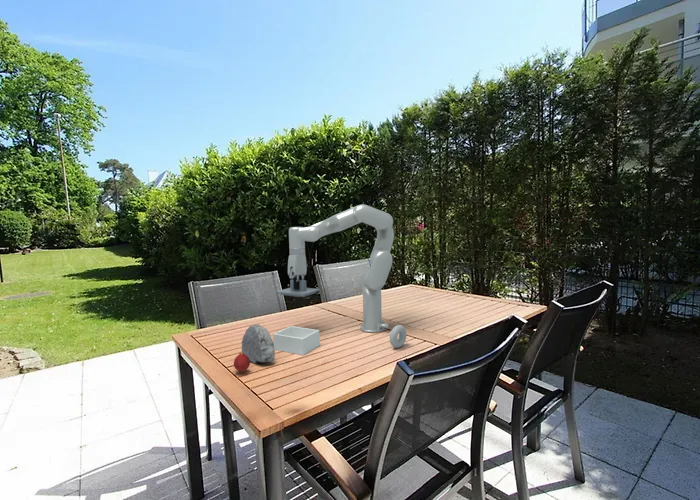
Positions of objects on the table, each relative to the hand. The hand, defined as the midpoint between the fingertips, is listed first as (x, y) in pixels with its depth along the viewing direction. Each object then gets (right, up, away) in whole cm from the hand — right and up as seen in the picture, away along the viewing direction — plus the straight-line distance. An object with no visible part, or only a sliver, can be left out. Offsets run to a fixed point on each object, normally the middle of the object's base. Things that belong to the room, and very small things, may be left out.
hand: (298, 288), depth 172 cm
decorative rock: (-12, -26, -31) cm, 42 cm away
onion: (-15, -27, -42) cm, 52 cm away
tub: (+2, -24, -17) cm, 30 cm away
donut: (+47, -24, -19) cm, 56 cm away
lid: (0, -3, 0) cm, 3 cm away
